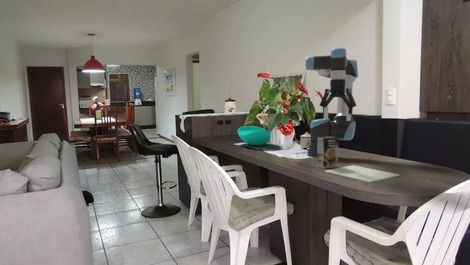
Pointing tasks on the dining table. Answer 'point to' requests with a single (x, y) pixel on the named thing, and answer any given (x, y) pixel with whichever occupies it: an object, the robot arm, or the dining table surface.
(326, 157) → the coffee box
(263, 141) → the table top decor
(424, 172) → the dining table surface
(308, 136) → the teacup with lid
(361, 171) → the mat
